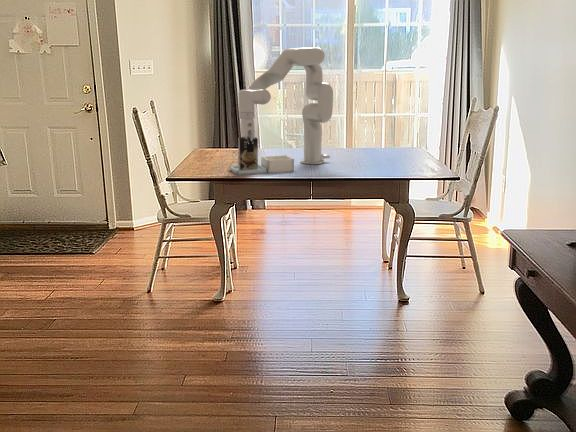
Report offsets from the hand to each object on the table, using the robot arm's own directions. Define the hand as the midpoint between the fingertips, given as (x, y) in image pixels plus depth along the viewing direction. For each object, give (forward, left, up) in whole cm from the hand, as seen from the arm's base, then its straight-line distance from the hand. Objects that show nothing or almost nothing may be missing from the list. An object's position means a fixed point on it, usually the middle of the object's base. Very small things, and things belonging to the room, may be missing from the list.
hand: (247, 150), depth 284 cm
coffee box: (0, 0, -10) cm, 10 cm away
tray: (0, 0, -11) cm, 11 cm away
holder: (-16, 0, -11) cm, 19 cm away
